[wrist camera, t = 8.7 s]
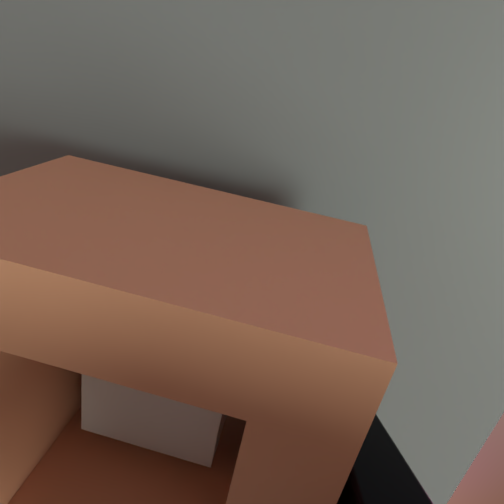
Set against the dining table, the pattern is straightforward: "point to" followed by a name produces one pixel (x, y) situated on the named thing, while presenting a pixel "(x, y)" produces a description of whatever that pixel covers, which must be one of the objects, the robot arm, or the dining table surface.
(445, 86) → the post plate
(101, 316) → the collar
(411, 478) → the robot arm
